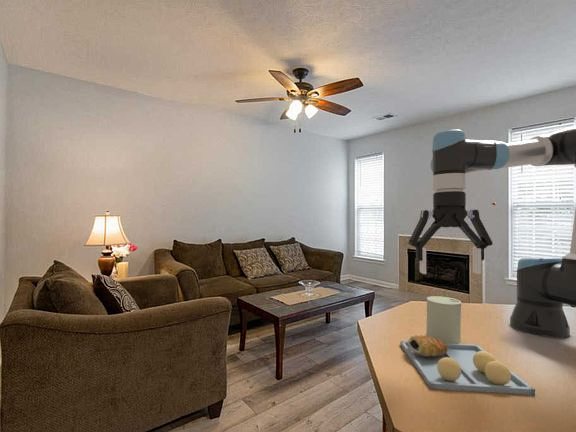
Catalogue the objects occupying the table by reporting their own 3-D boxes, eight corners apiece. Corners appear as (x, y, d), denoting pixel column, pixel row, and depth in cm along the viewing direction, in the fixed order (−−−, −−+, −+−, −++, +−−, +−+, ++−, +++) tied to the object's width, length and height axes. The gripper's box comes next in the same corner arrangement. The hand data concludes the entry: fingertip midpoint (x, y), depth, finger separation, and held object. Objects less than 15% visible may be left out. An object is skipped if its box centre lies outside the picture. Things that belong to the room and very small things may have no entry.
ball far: (455, 375, 70) (455, 354, 70) (465, 386, 65) (465, 363, 65) (433, 373, 70) (433, 353, 70) (442, 384, 65) (442, 362, 65)
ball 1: (489, 367, 73) (489, 348, 73) (501, 378, 69) (501, 356, 69) (468, 366, 74) (469, 347, 74) (479, 376, 69) (479, 355, 69)
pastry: (435, 345, 84) (436, 330, 84) (454, 356, 78) (455, 341, 77) (404, 347, 82) (405, 332, 82) (421, 359, 75) (422, 343, 75)
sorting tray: (477, 350, 84) (477, 344, 84) (534, 397, 62) (535, 389, 62) (400, 346, 86) (400, 341, 86) (430, 391, 64) (430, 383, 64)
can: (465, 347, 86) (466, 303, 86) (429, 344, 88) (430, 301, 88) (455, 335, 95) (455, 295, 95) (422, 332, 97) (423, 293, 97)
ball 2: (502, 378, 68) (502, 357, 68) (515, 390, 64) (516, 367, 64) (480, 377, 69) (480, 356, 69) (492, 389, 64) (492, 366, 64)
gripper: (490, 191, 85) (491, 270, 85) (396, 193, 87) (396, 270, 87) (508, 189, 77) (509, 275, 78) (404, 191, 79) (405, 275, 79)
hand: (449, 273), depth 82 cm, fingers open, 13 cm apart
